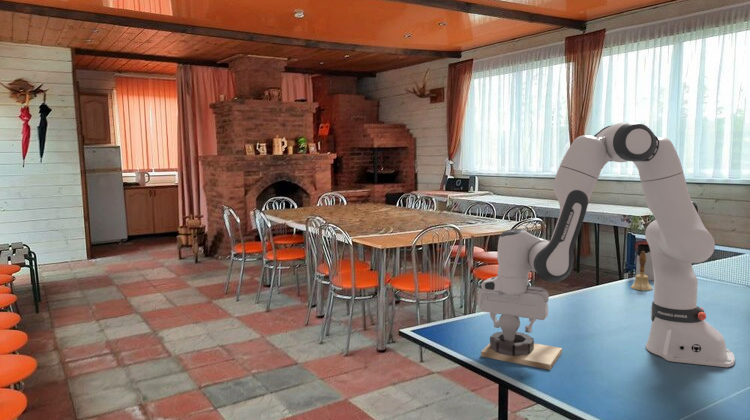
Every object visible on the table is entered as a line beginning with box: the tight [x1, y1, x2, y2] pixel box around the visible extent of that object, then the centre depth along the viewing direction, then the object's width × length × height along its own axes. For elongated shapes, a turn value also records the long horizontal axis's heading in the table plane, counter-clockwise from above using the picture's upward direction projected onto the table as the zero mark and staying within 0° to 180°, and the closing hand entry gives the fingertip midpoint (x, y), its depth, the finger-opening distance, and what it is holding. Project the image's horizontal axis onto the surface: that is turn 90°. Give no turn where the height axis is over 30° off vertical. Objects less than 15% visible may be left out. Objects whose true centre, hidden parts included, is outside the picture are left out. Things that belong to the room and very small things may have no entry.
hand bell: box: [630, 251, 654, 292], centre depth 229 cm, size 8×8×16 cm
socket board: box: [480, 331, 563, 371], centre depth 159 cm, size 20×14×4 cm
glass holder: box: [634, 243, 654, 281], centre depth 249 cm, size 9×14×15 cm, turn 171°
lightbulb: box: [498, 314, 521, 343], centre depth 160 cm, size 6×6×11 cm
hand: (512, 329), depth 160 cm, fingers open, 8 cm apart
